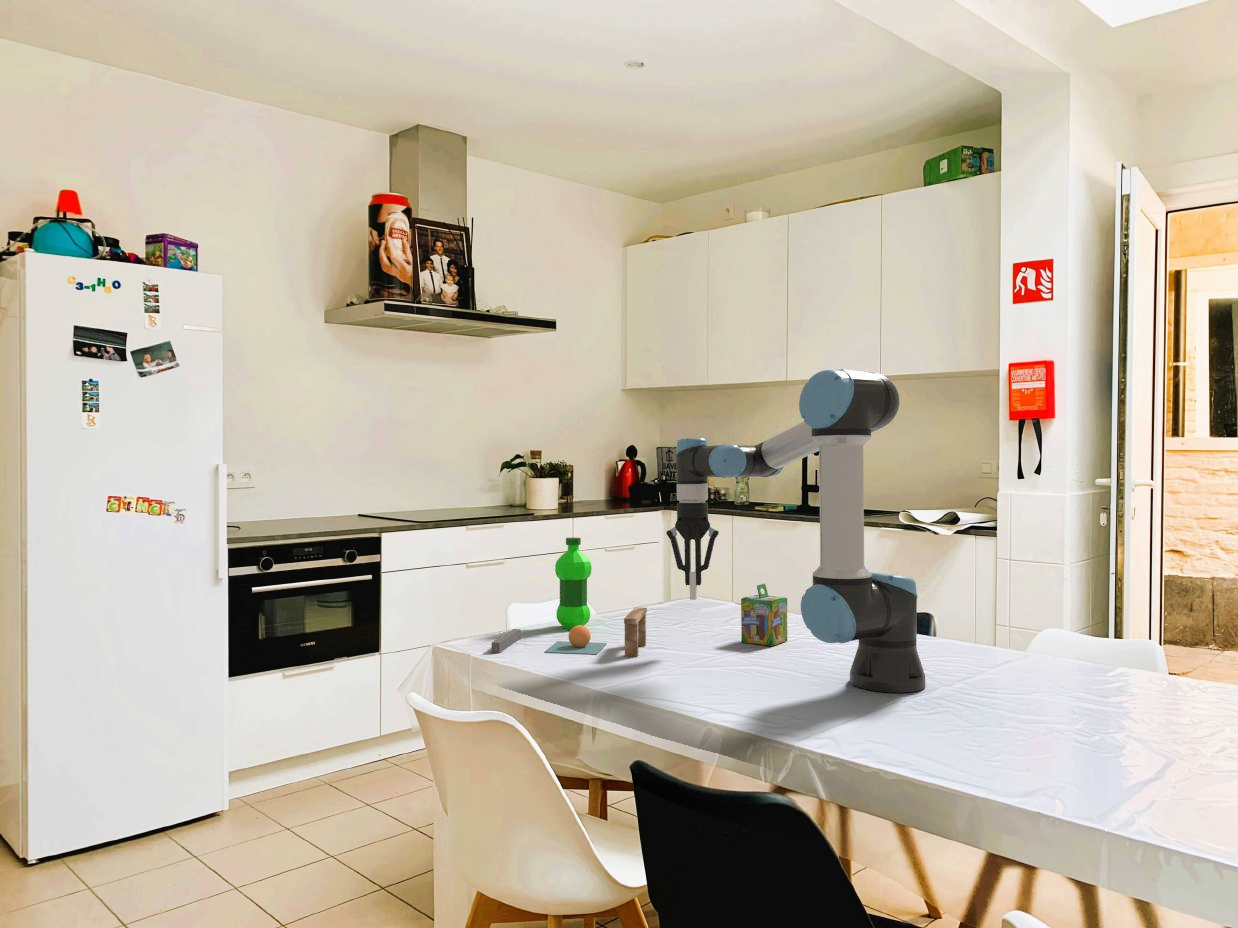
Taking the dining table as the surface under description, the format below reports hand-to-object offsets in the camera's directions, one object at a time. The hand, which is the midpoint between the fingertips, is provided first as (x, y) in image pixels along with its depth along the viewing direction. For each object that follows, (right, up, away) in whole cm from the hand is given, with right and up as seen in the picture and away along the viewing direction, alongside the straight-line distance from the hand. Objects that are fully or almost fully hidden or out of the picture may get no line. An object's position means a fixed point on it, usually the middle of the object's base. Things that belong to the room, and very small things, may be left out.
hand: (693, 598), depth 220 cm
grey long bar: (-46, -13, +9) cm, 49 cm away
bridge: (-14, -13, +3) cm, 19 cm away
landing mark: (-29, -13, +5) cm, 32 cm away
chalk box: (+19, -13, +13) cm, 27 cm away
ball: (-28, -10, +6) cm, 30 cm away
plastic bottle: (-31, -13, +33) cm, 47 cm away
